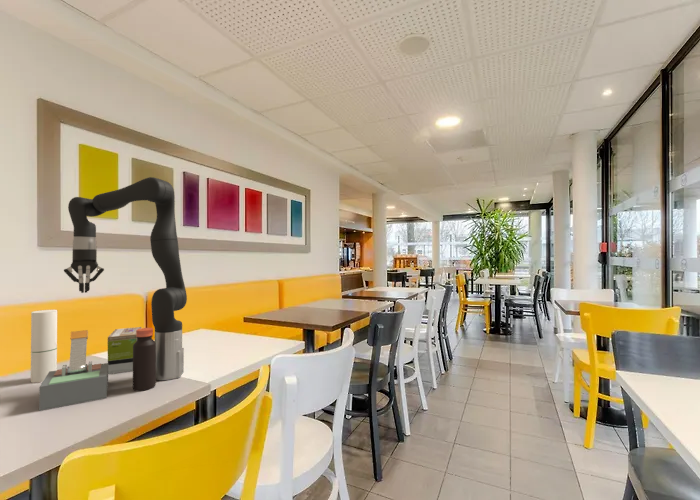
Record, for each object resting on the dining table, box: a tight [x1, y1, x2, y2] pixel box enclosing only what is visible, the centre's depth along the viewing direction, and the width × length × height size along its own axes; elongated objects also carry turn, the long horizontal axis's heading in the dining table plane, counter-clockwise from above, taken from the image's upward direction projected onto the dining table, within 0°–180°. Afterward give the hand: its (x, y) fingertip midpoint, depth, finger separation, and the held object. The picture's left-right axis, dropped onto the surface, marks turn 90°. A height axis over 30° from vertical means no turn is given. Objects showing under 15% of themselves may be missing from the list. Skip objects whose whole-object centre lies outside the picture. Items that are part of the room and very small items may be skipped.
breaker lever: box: [67, 329, 89, 374], centre depth 113 cm, size 5×3×14 cm, turn 123°
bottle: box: [132, 327, 157, 392], centre depth 117 cm, size 7×7×20 cm
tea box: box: [107, 326, 142, 375], centre depth 139 cm, size 15×10×15 cm
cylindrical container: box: [30, 309, 58, 384], centre depth 126 cm, size 7×7×25 cm
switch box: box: [38, 360, 109, 412], centre depth 111 cm, size 16×16×10 cm
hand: (84, 292), depth 134 cm, fingers closed
